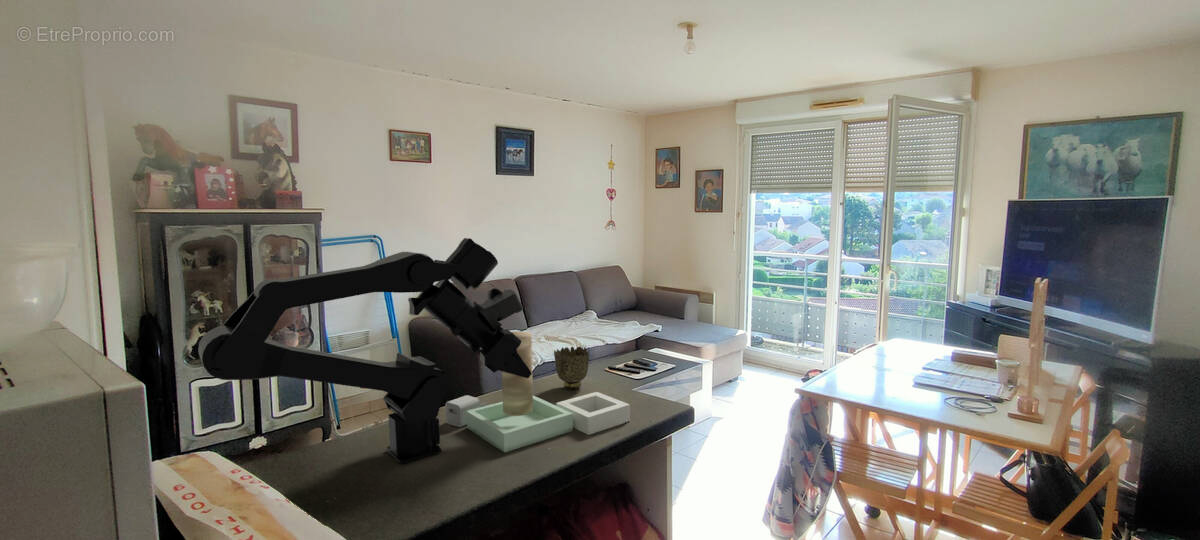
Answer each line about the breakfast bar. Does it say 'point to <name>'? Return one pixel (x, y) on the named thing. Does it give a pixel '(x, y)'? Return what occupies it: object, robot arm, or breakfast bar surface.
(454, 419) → the usb wall charger
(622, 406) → the white square frame
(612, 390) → the breakfast bar surface
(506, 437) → the pale green tray
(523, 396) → the beech dowel
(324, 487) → the breakfast bar surface
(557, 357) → the cup
